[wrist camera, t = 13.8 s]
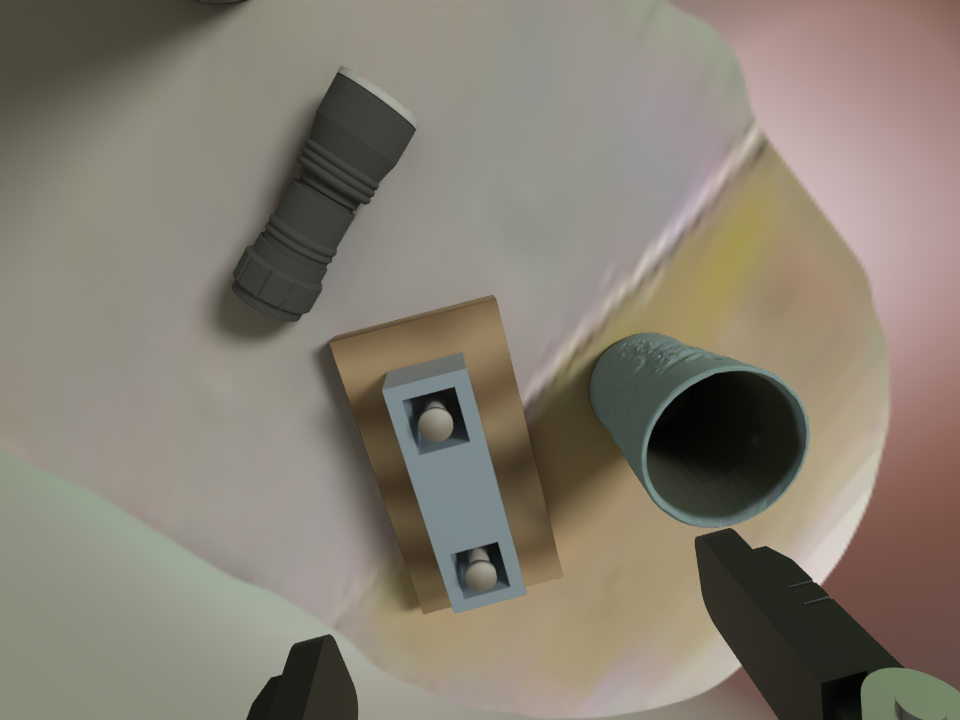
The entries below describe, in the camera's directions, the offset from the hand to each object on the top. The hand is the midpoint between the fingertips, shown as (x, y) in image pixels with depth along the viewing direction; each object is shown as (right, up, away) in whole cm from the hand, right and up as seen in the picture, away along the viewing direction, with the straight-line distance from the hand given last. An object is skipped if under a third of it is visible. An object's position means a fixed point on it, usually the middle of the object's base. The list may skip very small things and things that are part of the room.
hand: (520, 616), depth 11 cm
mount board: (-3, -2, +30) cm, 30 cm away
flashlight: (-11, +16, +24) cm, 31 cm away
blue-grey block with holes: (-3, -3, +28) cm, 28 cm away
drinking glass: (+12, +4, +30) cm, 32 cm away
